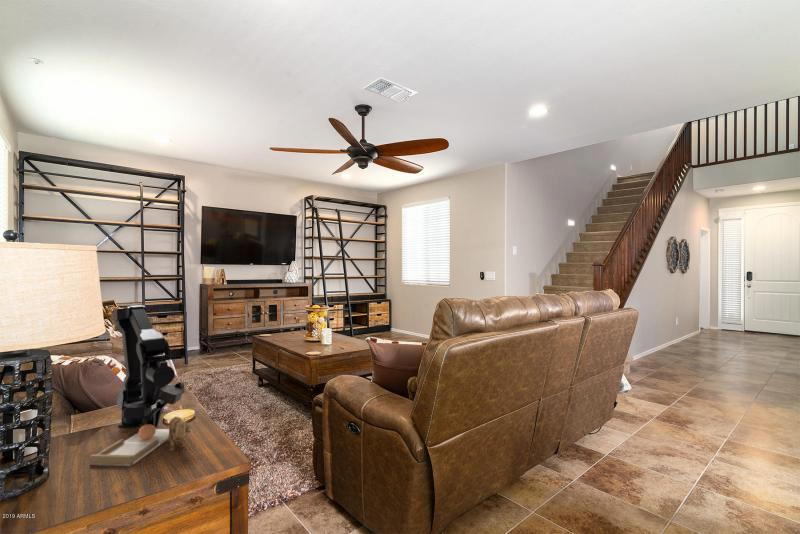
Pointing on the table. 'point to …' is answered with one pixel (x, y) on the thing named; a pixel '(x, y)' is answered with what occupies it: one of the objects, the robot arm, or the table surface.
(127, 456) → the lane
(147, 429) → the ball
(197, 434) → the table surface
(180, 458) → the table surface
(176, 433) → the lion figurine
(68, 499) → the table surface
